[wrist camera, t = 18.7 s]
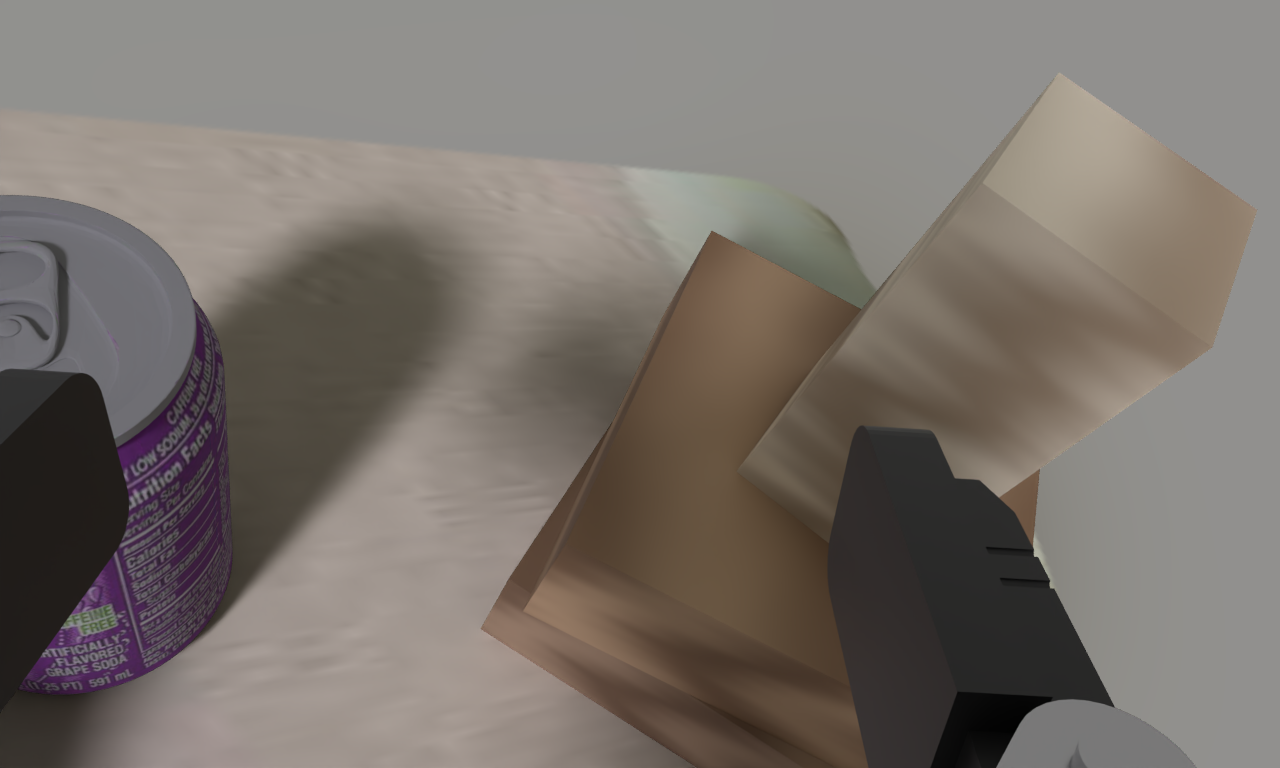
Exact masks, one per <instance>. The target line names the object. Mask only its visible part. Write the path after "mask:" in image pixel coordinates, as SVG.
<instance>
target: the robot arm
mask: <svg viewBox="0 0 1280 768" xmlns="http://www.w3.org/2000/svg"><path fill="white" fill-rule="evenodd" d="M128 515H129V494H128V489H127V485H126V481H125V478H124V474H123V470H122V466H121V462H120V459H119V455H118V451H117V447H116V443H115V440H114V436H113V432H112V428H111V425H110V421H109V417H108V413H107V409H106V406H105V402H104V398H103V395H102V392H101V389H100V387H99V385H98V383H97V382H96V381H95V379H94V378H92V377H91V376H90V375H88V374H85V373H75V372H59V371H44V370H28V369H13V368H11V369H5V370H3V371H1V372H0V713H1V711H2V710H3V708H4V707H5V706H6V704H7V703H8V701H9V700H10V699H11V697H12V696H13V694H14V693H15V692H16V690H17V689H18V688H19V686H20V685H21V683H22V682H23V681H24V679H25V678H26V676H27V675H28V674H29V672H30V671H31V669H32V668H33V667H34V665H35V664H36V662H37V661H38V660H39V658H40V657H41V655H42V654H43V653H44V651H45V650H46V648H47V647H48V646H49V644H50V643H51V641H52V640H53V639H54V637H55V636H56V634H57V633H58V632H59V630H60V629H61V627H62V626H63V625H64V623H65V622H66V621H67V619H68V618H69V616H70V615H71V614H72V612H73V611H74V609H75V608H76V607H77V605H78V604H79V602H80V601H81V600H82V598H83V597H84V595H85V594H86V593H87V591H88V590H89V588H90V587H91V586H92V584H93V583H94V581H95V580H96V579H97V577H98V576H99V574H100V573H101V572H102V570H103V569H104V567H105V566H106V565H107V563H108V562H109V560H110V559H111V558H112V556H113V555H114V554H115V552H116V550H117V549H118V547H119V545H120V543H121V541H122V539H123V536H124V534H125V530H126V526H127V522H128ZM827 572H828V587H829V594H830V599H831V603H832V608H833V612H834V617H835V621H836V626H837V630H838V634H839V639H840V643H841V648H842V652H843V657H844V661H845V666H846V670H847V674H848V679H849V683H850V688H851V692H852V697H853V701H854V706H855V710H856V715H857V719H858V723H859V728H860V732H861V737H862V741H863V746H864V750H865V755H866V759H867V763H868V768H1196V766H1195V765H1194V763H1193V762H1192V761H1191V760H1190V759H1189V758H1188V757H1187V755H1186V754H1185V753H1184V752H1183V751H1182V750H1181V749H1180V748H1179V747H1178V746H1177V745H1176V744H1174V743H1173V742H1172V741H1171V740H1170V739H1169V738H1168V737H1166V736H1165V735H1164V734H1162V733H1161V732H1159V731H1158V730H1156V729H1155V728H1154V727H1152V726H1151V725H1149V724H1147V723H1146V722H1144V721H1142V720H1141V719H1139V718H1137V717H1135V716H1133V715H1131V714H1128V713H1126V712H1124V711H1122V710H1119V709H1117V708H1115V707H1114V705H1113V703H1112V701H1111V699H1110V697H1109V695H1108V693H1107V691H1106V689H1105V687H1104V685H1103V683H1102V681H1101V680H1100V677H1099V676H1098V674H1097V672H1096V670H1095V668H1094V666H1093V664H1092V662H1091V660H1090V658H1089V656H1088V654H1087V652H1086V650H1085V648H1084V646H1083V644H1082V642H1081V640H1080V638H1079V636H1078V634H1077V632H1076V631H1075V629H1074V627H1073V625H1072V623H1071V621H1070V619H1069V617H1068V615H1067V613H1066V611H1065V609H1064V607H1063V605H1062V603H1061V601H1060V599H1059V597H1058V595H1057V593H1056V591H1055V590H1054V589H1050V586H1049V583H1050V580H1049V578H1048V576H1047V574H1046V572H1045V570H1044V568H1043V566H1042V564H1041V562H1040V560H1039V558H1038V557H1034V549H1033V547H1032V545H1031V543H1030V541H1029V539H1028V537H1027V535H1026V533H1025V531H1024V529H1023V527H1022V525H1021V523H1020V521H1019V519H1018V517H1017V515H1016V513H1015V512H1014V511H1013V510H1012V509H1011V508H1010V507H1008V506H1007V505H1006V504H1005V503H1004V502H1003V501H1002V500H1001V499H1000V498H999V497H998V496H996V495H995V494H994V493H993V492H992V491H991V490H990V489H989V488H988V487H987V486H986V485H984V484H983V483H982V482H981V481H980V480H974V479H959V478H954V475H953V473H952V471H951V469H950V467H949V464H948V462H947V460H946V458H945V455H944V453H943V451H942V449H941V446H940V444H939V442H938V440H937V438H936V436H935V434H934V433H933V432H932V431H931V430H926V429H910V428H895V427H879V426H864V425H862V426H859V427H858V428H857V430H856V431H855V433H854V436H853V439H852V442H851V446H850V450H849V455H848V459H847V464H846V468H845V473H844V477H843V481H842V486H841V490H840V495H839V499H838V504H837V508H836V512H835V517H834V521H833V526H832V530H831V535H830V540H829V548H828V563H827Z"/></svg>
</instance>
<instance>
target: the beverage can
mask: <svg viewBox="0 0 1280 768" xmlns="http://www.w3.org/2000/svg"><path fill="white" fill-rule="evenodd" d="M11 368H13V369H28V370H44V371H59V372H75V373H85V374H88V375H90V376H91V377H92V378H94V379H95V381H96V382H97V383H98V385H99V387H100V389H101V392H102V395H103V398H104V402H105V406H106V409H107V413H108V417H109V421H110V425H111V428H112V432H113V436H114V440H115V443H116V447H117V451H118V455H119V459H120V462H121V466H122V470H123V474H124V478H125V481H126V485H127V489H128V494H129V515H128V522H127V526H126V530H125V534H124V536H123V539H122V541H121V543H120V545H119V547H118V549H117V550H116V552H115V554H114V555H113V556H112V558H111V559H110V560H109V562H108V563H107V565H106V566H105V567H104V569H103V570H102V572H101V573H100V574H99V576H98V577H97V579H96V580H95V581H94V583H93V584H92V586H91V587H90V588H89V590H88V591H87V593H86V594H85V595H84V597H83V598H82V600H81V601H80V602H79V604H78V605H77V607H76V608H75V609H74V611H73V612H72V614H71V615H70V616H69V618H68V619H67V621H66V622H65V623H64V625H63V626H62V627H61V629H60V630H59V632H58V633H57V634H56V636H55V637H54V639H53V640H52V641H51V643H50V644H49V646H48V647H47V648H46V650H45V651H44V653H43V654H42V655H41V657H40V658H39V660H38V661H37V662H36V664H35V665H34V667H33V668H32V669H31V671H30V672H29V674H28V675H27V676H26V678H25V679H24V681H23V682H22V683H21V685H20V686H19V688H18V690H23V691H28V692H34V693H41V694H54V695H58V694H80V693H87V692H93V691H98V690H103V689H107V688H110V687H114V686H117V685H120V684H123V683H126V682H129V681H131V680H133V679H136V678H138V677H140V676H142V675H144V674H146V673H148V672H150V671H152V670H154V669H156V668H157V667H159V666H161V665H162V664H164V663H165V662H167V661H168V660H170V659H171V658H173V657H174V656H175V655H176V654H178V653H179V652H180V651H182V650H183V649H184V648H185V647H186V646H187V645H188V644H189V643H190V642H191V641H192V640H193V639H194V638H195V637H196V636H197V635H198V634H199V633H200V632H201V631H202V629H203V628H204V627H205V626H206V624H207V623H208V622H209V620H210V619H211V617H212V616H213V614H214V613H215V611H216V609H217V608H218V606H219V604H220V602H221V600H222V598H223V595H224V593H225V590H226V587H227V584H228V581H229V577H230V573H231V566H232V530H231V508H230V486H229V465H228V443H227V421H226V399H225V377H224V365H223V359H222V354H221V350H220V345H219V342H218V340H217V337H216V334H215V332H214V330H213V328H212V325H211V324H210V322H209V320H208V318H207V317H206V315H205V314H204V312H203V311H202V309H201V308H200V306H199V305H198V304H197V302H196V301H195V300H194V299H193V298H192V295H191V292H190V289H189V286H188V284H187V282H186V280H185V278H184V276H183V274H182V273H181V271H180V269H179V268H178V266H177V265H176V264H175V262H174V261H173V260H172V258H171V257H170V256H169V255H168V254H167V253H166V252H165V251H164V250H163V249H162V248H161V247H160V246H159V245H158V244H157V243H156V242H155V241H154V240H152V239H151V238H150V237H149V236H147V235H146V234H144V233H143V232H142V231H140V230H139V229H137V228H135V227H134V226H132V225H130V224H129V223H127V222H125V221H123V220H121V219H119V218H117V217H115V216H112V215H110V214H108V213H105V212H103V211H100V210H97V209H95V208H91V207H88V206H85V205H81V204H77V203H73V202H69V201H64V200H59V199H53V198H46V197H36V196H20V195H0V372H1V371H3V370H5V369H11Z"/></svg>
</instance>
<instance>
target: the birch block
mask: <svg viewBox="0 0 1280 768" xmlns="http://www.w3.org/2000/svg"><path fill="white" fill-rule="evenodd" d="M1256 212H1257V209H1255V208H1254V207H1252V206H1251V205H1249V204H1248V203H1246V202H1245V201H1244V200H1242V199H1241V198H1239V197H1238V196H1236V195H1235V194H1234V193H1232V192H1231V191H1229V190H1228V189H1226V188H1225V187H1223V186H1222V185H1221V184H1219V183H1218V182H1216V181H1215V180H1213V179H1212V178H1211V177H1209V176H1208V175H1206V174H1205V173H1203V172H1202V171H1200V170H1199V169H1197V168H1196V167H1195V166H1193V165H1192V164H1190V163H1189V162H1188V161H1186V160H1185V159H1183V158H1182V157H1180V156H1179V155H1177V154H1176V153H1174V152H1173V151H1172V150H1170V149H1169V148H1167V147H1166V146H1164V145H1163V144H1162V143H1160V142H1159V141H1157V140H1156V139H1154V138H1153V137H1151V136H1150V135H1148V134H1147V133H1146V132H1144V131H1143V130H1141V129H1140V128H1139V127H1137V126H1135V125H1134V124H1133V123H1131V122H1130V121H1128V120H1127V119H1126V118H1124V117H1123V116H1121V115H1120V114H1118V113H1117V112H1115V111H1114V110H1112V109H1111V108H1110V107H1108V106H1107V105H1105V104H1104V103H1102V102H1101V101H1100V100H1098V99H1097V98H1095V97H1093V96H1092V95H1091V94H1090V93H1088V92H1087V91H1085V90H1084V89H1082V88H1081V87H1079V86H1078V85H1076V84H1075V83H1074V82H1072V81H1071V80H1069V79H1068V78H1066V77H1065V76H1064V75H1062V74H1061V73H1058V75H1057V76H1056V77H1055V78H1054V79H1053V81H1052V82H1051V83H1050V84H1049V85H1048V86H1047V88H1046V89H1045V90H1044V91H1043V92H1042V94H1041V95H1040V96H1039V97H1038V98H1037V100H1036V101H1035V102H1034V103H1033V104H1032V106H1031V107H1030V108H1029V109H1028V110H1027V112H1026V113H1025V114H1024V116H1023V117H1022V118H1021V119H1020V120H1019V121H1018V122H1017V124H1016V125H1015V126H1014V127H1013V128H1012V130H1011V131H1010V132H1009V133H1008V134H1007V136H1006V137H1005V138H1004V139H1003V140H1002V142H1001V143H1000V144H999V145H998V147H997V148H996V149H995V150H994V151H993V152H992V154H991V155H990V156H989V157H988V158H987V160H986V161H985V162H984V163H983V165H982V166H981V167H980V168H979V169H978V171H977V172H976V173H975V174H974V175H973V176H972V178H971V179H970V180H969V181H968V182H967V184H966V185H965V186H964V187H963V189H962V190H961V191H960V192H959V193H958V195H957V196H956V197H955V198H954V199H953V200H952V202H951V203H950V204H949V205H948V206H947V208H946V209H945V210H944V211H943V212H942V214H941V215H940V216H939V217H938V219H937V220H936V221H935V222H934V223H933V224H932V226H931V227H930V228H929V229H928V230H927V232H926V233H925V234H924V235H923V237H922V238H921V239H920V240H919V241H918V242H917V244H916V245H915V246H914V247H913V248H912V250H911V251H910V252H909V253H908V254H907V256H906V257H905V258H904V259H903V261H902V262H901V263H900V264H899V265H898V266H897V268H896V269H895V270H894V271H893V272H892V274H891V275H890V276H889V277H888V278H887V280H886V281H885V282H884V283H883V284H882V286H881V287H880V288H879V289H878V290H877V292H876V293H875V294H874V295H873V296H872V298H871V299H870V300H869V301H868V302H867V304H866V305H865V306H864V307H863V308H862V310H861V311H860V312H859V313H858V314H857V316H856V317H855V318H854V319H853V320H852V322H851V323H850V324H849V325H848V326H847V328H846V329H845V330H844V331H843V332H842V334H841V335H840V336H839V337H838V338H837V340H836V341H835V342H834V343H833V344H832V346H831V347H830V348H829V349H828V350H827V351H826V353H825V354H824V355H823V356H822V357H821V359H820V360H819V361H818V362H817V363H816V365H815V366H814V367H813V368H812V370H811V371H810V372H809V374H808V375H807V376H806V378H805V379H804V381H803V382H802V383H801V385H800V386H799V387H798V389H797V390H796V391H795V393H794V394H793V395H792V397H791V398H790V399H789V401H788V402H787V404H786V405H785V406H784V408H783V409H782V410H781V412H780V413H779V414H778V416H777V417H776V418H775V420H774V421H773V422H772V424H771V425H770V427H769V428H768V429H767V431H766V432H765V433H764V435H763V436H762V437H761V439H760V440H759V441H758V443H757V444H756V446H755V447H754V448H753V450H752V451H751V452H750V454H749V455H748V456H747V458H746V459H745V460H744V462H743V463H742V464H741V466H740V467H739V469H738V470H737V472H738V473H739V474H740V475H742V476H743V477H744V478H746V479H747V480H748V481H749V482H751V483H752V484H753V485H755V486H756V487H757V488H758V489H760V490H761V491H762V492H764V493H765V494H766V495H767V496H769V497H770V498H771V499H773V500H774V501H775V502H776V503H778V504H779V505H780V506H782V507H783V508H784V509H785V510H787V511H788V512H789V513H791V514H792V515H793V516H794V517H796V518H797V519H798V520H800V521H801V522H802V523H803V524H805V525H806V526H807V527H809V528H810V529H811V530H812V531H814V532H815V533H816V534H818V535H819V536H820V537H821V538H823V539H824V540H825V541H827V542H828V543H829V540H830V535H831V530H832V526H833V521H834V517H835V512H836V508H837V504H838V499H839V495H840V490H841V486H842V481H843V477H844V473H845V468H846V464H847V459H848V455H849V450H850V446H851V442H852V439H853V436H854V433H855V431H856V430H857V428H858V427H859V426H862V425H864V426H879V427H895V428H910V429H926V430H931V431H932V432H933V433H934V434H935V436H936V438H937V440H938V442H939V444H940V446H941V449H942V451H943V453H944V455H945V458H946V460H947V462H948V464H949V467H950V469H951V471H952V473H953V475H954V478H959V479H974V480H980V481H981V482H982V483H983V484H984V485H986V486H987V487H988V488H989V489H990V490H991V491H992V492H993V493H994V494H995V495H996V496H998V497H1001V496H1002V495H1003V494H1005V493H1006V492H1008V491H1009V490H1010V489H1012V488H1013V487H1015V486H1016V485H1018V484H1019V483H1020V482H1022V481H1023V480H1025V479H1026V478H1028V477H1029V476H1030V475H1032V474H1033V473H1035V472H1036V471H1037V470H1039V469H1040V468H1042V467H1043V466H1045V465H1046V464H1047V463H1049V462H1050V461H1052V460H1053V459H1054V458H1056V457H1057V456H1059V455H1060V454H1062V453H1063V452H1064V451H1066V450H1067V449H1069V448H1070V447H1071V446H1073V445H1074V444H1076V443H1077V442H1079V441H1080V440H1081V439H1083V438H1084V437H1085V436H1087V435H1089V434H1090V433H1091V432H1093V431H1094V430H1096V429H1097V428H1098V427H1100V426H1101V425H1102V424H1104V423H1106V422H1107V421H1108V420H1110V419H1111V418H1113V417H1114V416H1116V415H1117V414H1118V413H1120V412H1121V411H1123V410H1124V409H1126V408H1127V407H1128V406H1130V405H1131V404H1133V403H1134V402H1135V401H1137V400H1138V399H1140V398H1141V397H1142V396H1144V395H1145V394H1147V393H1148V392H1150V391H1151V390H1152V389H1154V388H1155V387H1157V386H1158V385H1160V384H1161V383H1162V382H1164V381H1165V380H1167V379H1168V378H1169V377H1171V376H1172V375H1174V374H1175V373H1177V372H1178V371H1179V370H1181V369H1182V368H1184V367H1185V366H1186V365H1188V364H1189V363H1191V362H1192V361H1194V360H1195V359H1197V358H1198V357H1199V356H1201V355H1202V354H1204V353H1205V352H1206V351H1208V350H1209V349H1211V348H1212V346H1213V344H1214V340H1215V338H1216V335H1217V331H1218V328H1219V325H1220V322H1221V319H1222V316H1223V313H1224V310H1225V307H1226V304H1227V301H1228V297H1229V294H1230V292H1231V288H1232V286H1233V283H1234V279H1235V276H1236V273H1237V270H1238V267H1239V264H1240V261H1241V258H1242V255H1243V252H1244V249H1245V245H1246V243H1247V240H1248V236H1249V234H1250V230H1251V227H1252V224H1253V221H1254V218H1255V215H1256Z"/></svg>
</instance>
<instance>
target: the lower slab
mask: <svg viewBox="0 0 1280 768" xmlns="http://www.w3.org/2000/svg"><path fill="white" fill-rule="evenodd" d="M611 425H612V423H611ZM611 425H610V426H609V428H608V429H607V431H606V432H605V434H604V435H603V437H602V438H601V440H600V441H599V443H598V445H597V446H596V448H595V449H594V451H593V452H592V454H591V455H590V457H589V458H588V460H587V461H586V463H585V464H584V466H583V467H582V469H581V470H580V472H579V473H578V475H577V476H576V478H575V479H574V481H573V482H572V484H571V485H570V487H569V488H568V490H567V492H566V493H565V495H564V496H563V498H562V499H561V501H560V502H559V504H558V505H557V507H556V508H555V510H554V511H553V513H552V514H551V516H550V517H549V519H548V520H547V522H546V523H545V525H544V526H543V528H542V529H541V531H540V532H539V534H538V535H537V537H536V539H535V540H534V542H533V543H532V545H531V546H530V548H529V549H528V551H527V552H526V554H525V555H524V557H523V558H522V560H521V561H520V563H519V564H518V566H517V567H516V569H515V570H514V572H513V573H512V575H511V576H510V578H509V580H508V581H507V583H506V585H505V587H504V588H503V590H502V592H501V594H500V595H499V597H498V599H497V601H496V603H495V604H494V606H493V608H492V610H491V611H490V613H489V615H488V617H487V619H486V620H485V622H484V624H483V626H482V627H481V629H482V630H483V631H485V632H487V633H488V634H490V635H491V636H493V637H494V638H496V639H497V640H499V641H501V642H502V643H504V644H505V645H507V646H508V647H510V648H511V649H513V650H515V651H516V652H518V653H519V654H521V655H522V656H524V657H525V658H527V659H529V660H530V661H532V662H533V663H535V664H536V665H538V666H540V667H541V668H543V669H544V670H546V671H547V672H549V673H550V674H552V675H554V676H555V677H557V678H558V679H560V680H561V681H563V682H564V683H566V684H568V685H569V686H571V687H572V688H574V689H575V690H577V691H578V692H580V693H582V694H583V695H585V696H586V697H588V698H589V699H591V700H592V701H594V702H596V703H597V704H599V705H600V706H602V707H603V708H605V709H607V710H608V711H610V712H611V713H613V714H614V715H616V716H617V717H619V718H621V719H622V720H624V721H625V722H627V723H628V724H630V725H631V726H633V727H635V728H636V729H638V730H639V731H641V732H642V733H644V734H645V735H647V736H649V737H650V738H652V739H653V740H655V741H656V742H658V743H659V744H661V745H663V746H664V747H666V748H667V749H669V750H670V751H672V752H674V753H675V754H677V755H678V756H680V757H681V758H683V759H684V760H686V761H688V762H689V763H691V764H692V765H694V766H695V767H697V768H836V767H834V766H832V765H830V764H828V763H826V762H824V761H822V760H820V759H818V758H816V757H814V756H812V755H810V754H808V753H806V752H804V751H802V750H800V749H798V748H796V747H794V746H792V745H790V744H788V743H786V742H784V741H782V740H780V739H778V738H776V737H774V736H772V735H770V734H768V733H766V732H764V731H762V730H760V729H758V728H756V727H754V726H752V725H750V724H748V723H746V722H744V721H742V720H740V719H738V718H736V717H734V716H732V715H730V714H728V713H726V712H724V711H722V710H720V709H718V708H716V707H714V706H712V705H710V704H708V703H706V702H704V701H702V700H700V699H698V698H696V697H694V696H692V695H690V694H688V693H686V692H684V691H682V690H680V689H678V688H676V687H674V686H672V685H670V684H668V683H666V682H664V681H662V680H659V679H657V678H655V677H653V676H651V675H649V674H647V673H645V672H643V671H641V670H639V669H637V668H635V667H633V666H631V665H629V664H627V663H625V662H623V661H621V660H619V659H617V658H615V657H613V656H611V655H609V654H607V653H605V652H603V651H601V650H599V649H597V648H595V647H593V646H591V645H589V644H587V643H585V642H583V641H581V640H579V639H577V638H575V637H573V636H571V635H569V634H567V633H565V632H563V631H561V630H559V629H557V628H555V627H553V626H551V625H549V624H547V623H545V622H543V621H541V620H539V619H537V618H535V617H533V616H531V615H529V614H527V613H525V612H523V610H524V608H525V606H526V603H527V601H528V599H529V597H530V595H531V593H532V591H533V589H534V587H535V584H536V582H537V580H538V578H539V576H540V574H541V572H542V570H543V568H544V566H545V563H546V561H547V559H548V557H549V555H550V553H551V551H552V549H553V547H554V544H555V542H556V540H557V538H558V536H559V534H560V532H561V530H562V528H563V526H564V523H565V521H566V519H567V517H568V515H569V513H570V511H571V509H572V507H573V505H574V502H575V500H576V498H577V496H578V494H579V492H580V490H581V488H582V486H583V483H584V481H585V479H586V477H587V475H588V473H589V471H590V469H591V467H592V465H593V462H594V460H595V458H596V456H597V454H598V452H599V450H600V448H601V446H602V444H603V441H604V439H605V437H606V435H607V433H608V431H609V429H610V427H611Z"/></svg>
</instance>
